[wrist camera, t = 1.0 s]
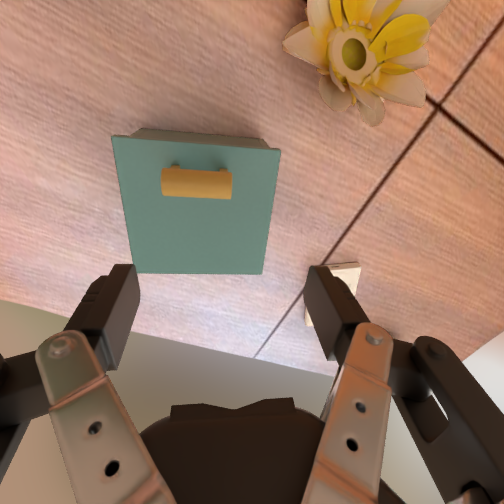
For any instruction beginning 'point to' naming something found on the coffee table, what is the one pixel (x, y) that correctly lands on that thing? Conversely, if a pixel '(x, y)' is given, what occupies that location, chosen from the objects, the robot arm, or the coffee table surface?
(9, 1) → the coffee table surface
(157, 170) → the lid
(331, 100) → the decorative flower
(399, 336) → the coffee table surface
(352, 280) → the hard drive
